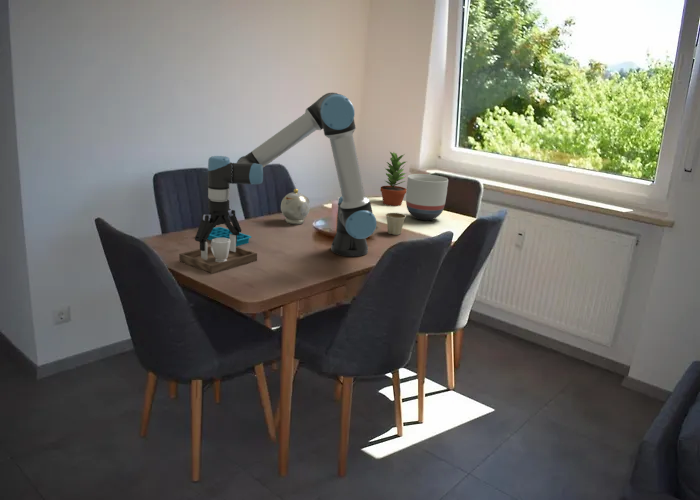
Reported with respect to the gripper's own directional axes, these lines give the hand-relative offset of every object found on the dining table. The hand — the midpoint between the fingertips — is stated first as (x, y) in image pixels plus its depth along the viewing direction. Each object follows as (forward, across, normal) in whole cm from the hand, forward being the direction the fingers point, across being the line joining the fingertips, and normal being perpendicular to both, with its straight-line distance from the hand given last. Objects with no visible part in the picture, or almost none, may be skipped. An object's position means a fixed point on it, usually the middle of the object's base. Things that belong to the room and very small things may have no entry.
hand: (218, 254), depth 223 cm
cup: (+2, 0, 0) cm, 2 cm away
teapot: (+3, -65, -20) cm, 68 cm away
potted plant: (+3, -137, -13) cm, 138 cm away
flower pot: (+3, -86, +22) cm, 89 cm away
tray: (+2, 0, 0) cm, 2 cm away
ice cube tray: (+3, -20, -19) cm, 28 cm away
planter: (+3, -121, +17) cm, 122 cm away
